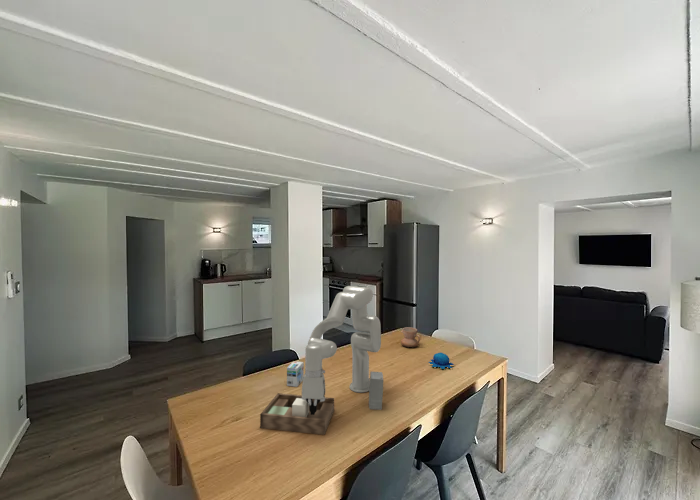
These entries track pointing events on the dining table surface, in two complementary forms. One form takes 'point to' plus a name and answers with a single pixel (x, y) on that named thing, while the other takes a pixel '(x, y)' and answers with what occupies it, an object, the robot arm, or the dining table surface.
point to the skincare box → (376, 390)
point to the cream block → (300, 408)
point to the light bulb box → (295, 373)
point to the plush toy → (441, 361)
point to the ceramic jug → (410, 337)
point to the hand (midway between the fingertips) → (313, 413)
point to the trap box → (282, 419)
